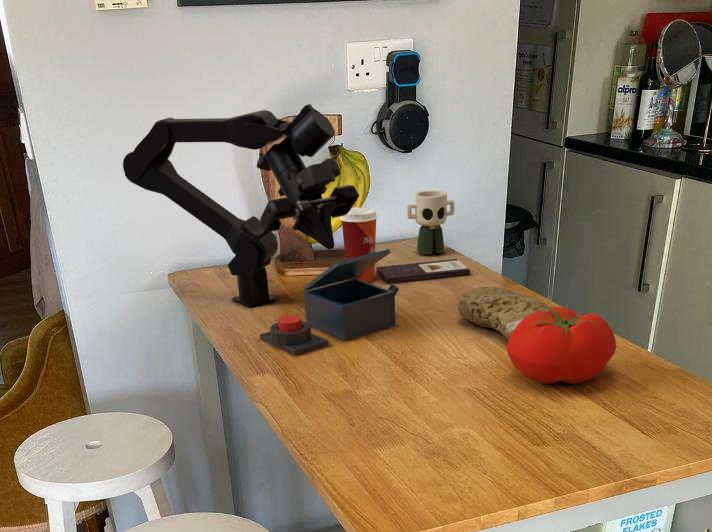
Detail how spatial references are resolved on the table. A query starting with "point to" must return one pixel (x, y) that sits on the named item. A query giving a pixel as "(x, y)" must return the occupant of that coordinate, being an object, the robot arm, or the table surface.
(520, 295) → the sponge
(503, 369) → the table surface
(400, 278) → the chocolate bar
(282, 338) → the push button switch
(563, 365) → the tomato
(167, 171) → the robot arm
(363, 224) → the paper cup
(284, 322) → the red button
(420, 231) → the character mug
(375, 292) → the storage box
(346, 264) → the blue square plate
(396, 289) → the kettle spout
